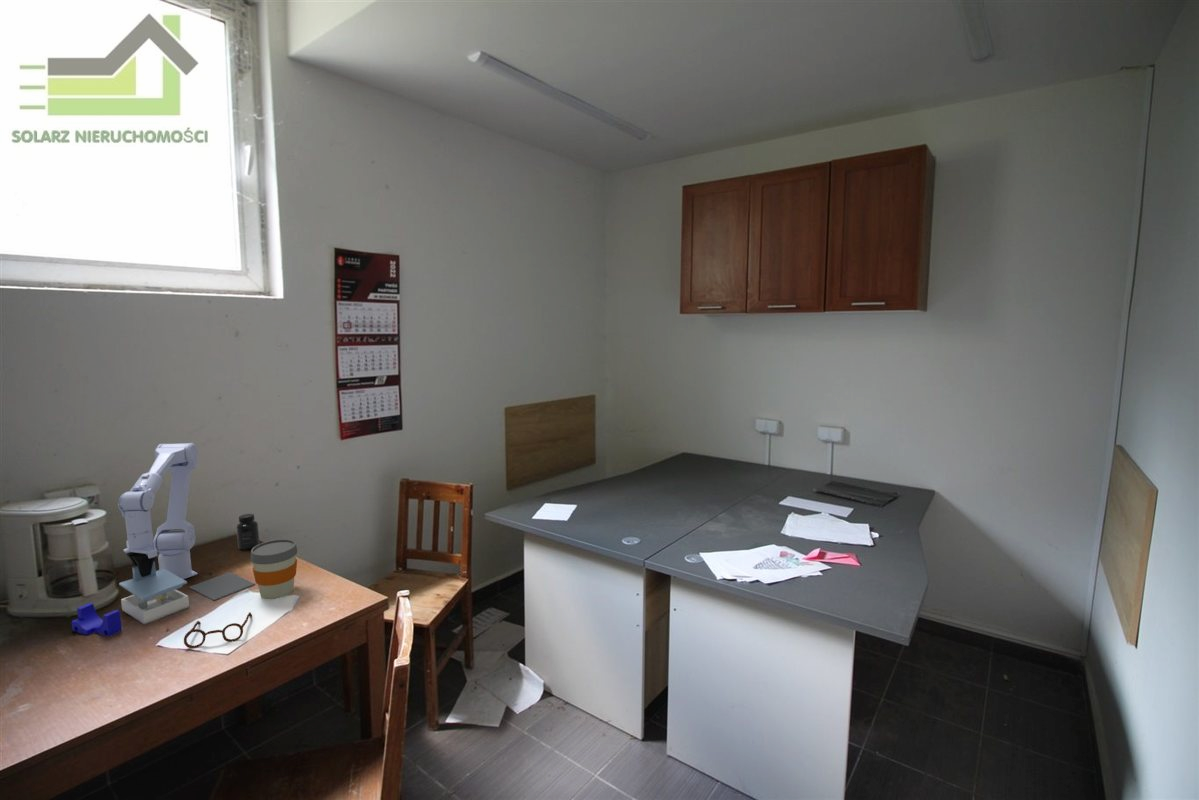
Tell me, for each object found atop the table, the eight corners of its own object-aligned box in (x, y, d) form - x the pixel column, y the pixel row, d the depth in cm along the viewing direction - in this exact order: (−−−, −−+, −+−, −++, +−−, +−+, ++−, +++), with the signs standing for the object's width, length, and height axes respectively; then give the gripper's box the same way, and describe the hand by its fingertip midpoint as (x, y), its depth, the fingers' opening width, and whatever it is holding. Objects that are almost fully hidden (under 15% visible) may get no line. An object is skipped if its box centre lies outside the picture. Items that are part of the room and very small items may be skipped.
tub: (122, 610, 161) (120, 599, 160) (166, 594, 170) (165, 583, 170) (144, 624, 154) (143, 612, 153) (189, 606, 163) (188, 595, 163)
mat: (189, 588, 174) (189, 586, 174) (229, 573, 185) (229, 572, 184) (214, 601, 167) (214, 599, 167) (255, 584, 177) (254, 583, 177)
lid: (119, 588, 160) (117, 570, 159) (164, 573, 169) (162, 556, 168) (142, 603, 153) (140, 584, 152) (187, 586, 163) (185, 568, 162)
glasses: (184, 651, 143) (182, 633, 142) (199, 624, 155) (197, 608, 154) (243, 641, 148) (241, 624, 147) (253, 616, 160) (251, 600, 159)
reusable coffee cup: (303, 580, 181) (300, 537, 179) (295, 599, 169) (292, 553, 167) (259, 585, 177) (256, 541, 175) (248, 605, 165) (244, 557, 163)
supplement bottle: (264, 543, 208) (261, 513, 207) (251, 550, 202) (248, 519, 200) (247, 542, 209) (244, 512, 207) (233, 549, 202) (230, 518, 201)
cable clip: (72, 631, 150) (70, 610, 149) (92, 622, 155) (89, 602, 154) (103, 640, 147) (100, 619, 146) (122, 631, 151) (119, 610, 150)
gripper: (111, 530, 161) (116, 573, 163) (134, 541, 154) (139, 586, 156) (140, 522, 167) (145, 564, 169) (163, 532, 160) (168, 576, 162)
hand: (144, 574), depth 163 cm, fingers closed on lid
